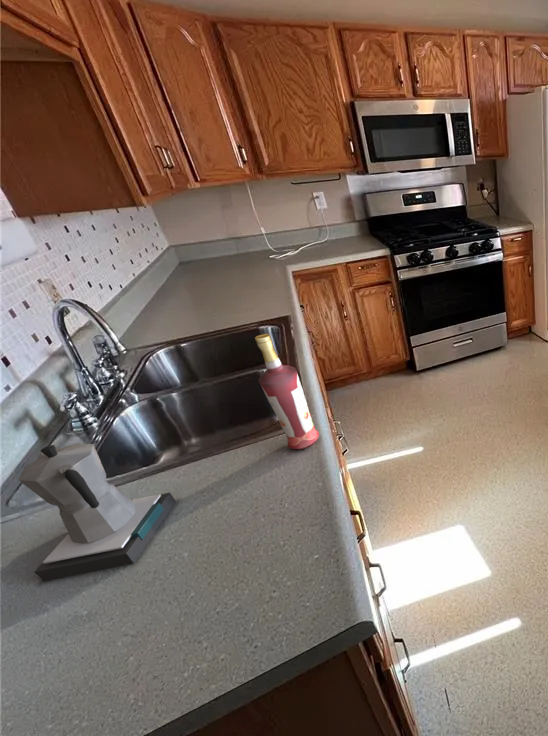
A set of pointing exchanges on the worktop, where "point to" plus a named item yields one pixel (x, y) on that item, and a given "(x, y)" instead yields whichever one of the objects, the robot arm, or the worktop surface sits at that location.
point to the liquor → (286, 397)
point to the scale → (109, 543)
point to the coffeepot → (79, 491)
